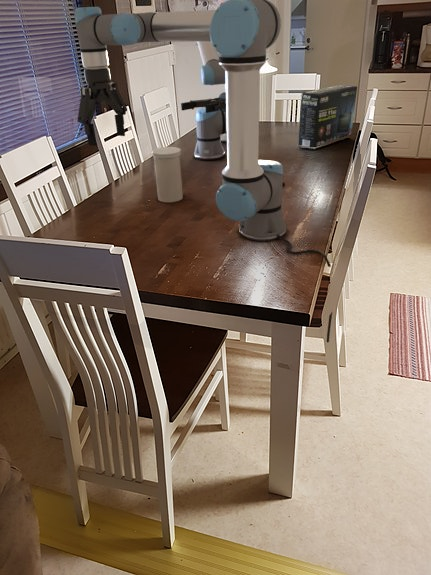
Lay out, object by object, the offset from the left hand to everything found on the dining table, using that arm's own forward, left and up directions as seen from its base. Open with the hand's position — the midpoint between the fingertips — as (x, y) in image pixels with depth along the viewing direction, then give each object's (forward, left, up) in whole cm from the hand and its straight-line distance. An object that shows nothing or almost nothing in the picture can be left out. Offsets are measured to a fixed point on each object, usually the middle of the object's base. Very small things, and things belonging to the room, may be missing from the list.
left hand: (193, 107), depth 178 cm
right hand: (+43, -16, -2) cm, 46 cm away
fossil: (-76, -7, -30) cm, 83 cm away
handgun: (-10, +29, -30) cm, 43 cm away
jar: (+18, -6, -30) cm, 36 cm away
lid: (+18, -6, -12) cm, 22 cm away
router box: (-75, +49, -30) cm, 95 cm away
